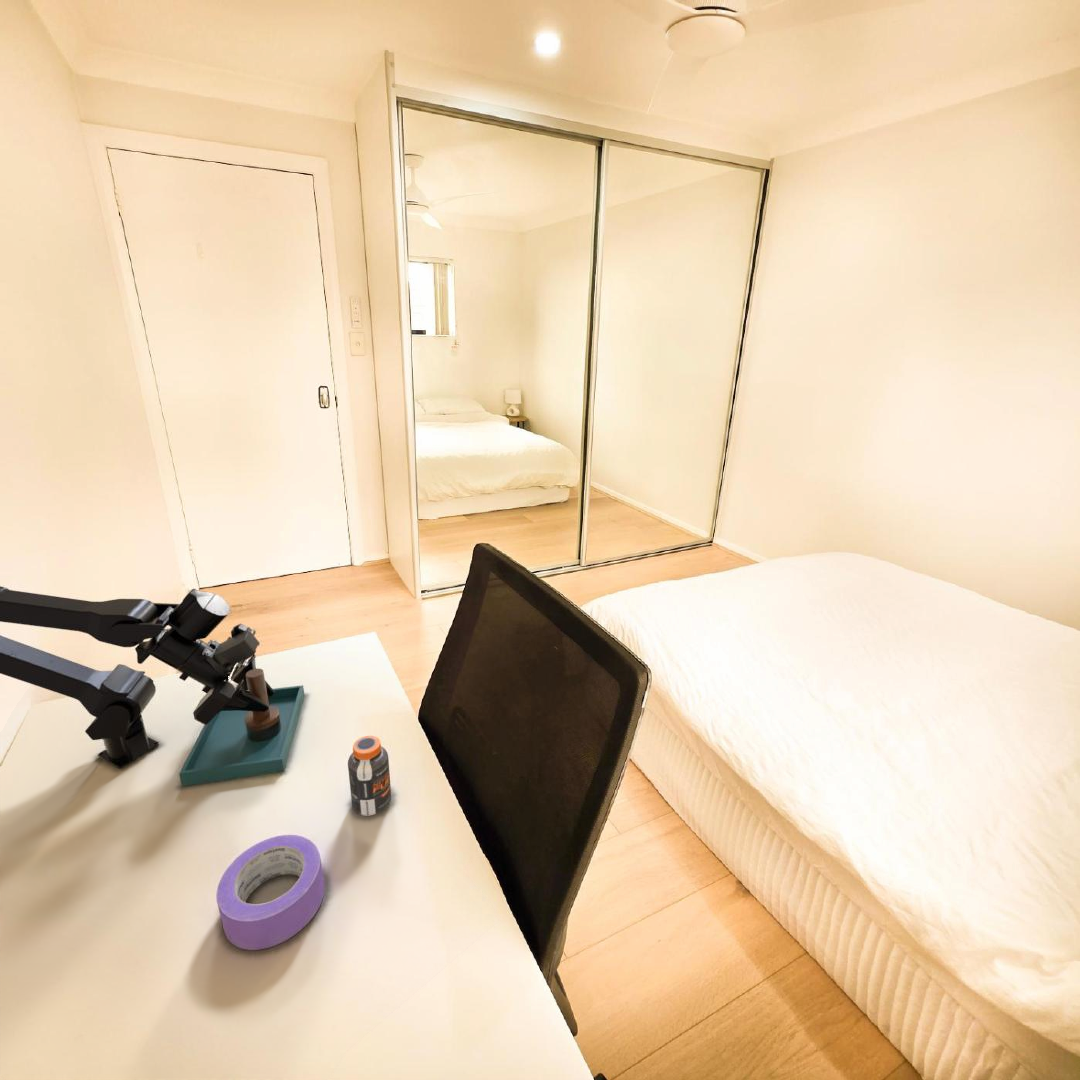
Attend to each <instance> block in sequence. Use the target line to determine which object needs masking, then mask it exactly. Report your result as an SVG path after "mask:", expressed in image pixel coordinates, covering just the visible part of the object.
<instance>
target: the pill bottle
mask: <svg viewBox="0 0 1080 1080" xmlns="http://www.w3.org/2000/svg"><path fill="white" fill-rule="evenodd" d="M347 769H348V770H347V771H348V781H349V790H350V798H351V806H352V809H353V811H354V812H355V813H356V814H358V815H360V816H367V817H368V816H374V815H377V814H379V813H382V812H383V811H384V810H385V809H387V808H388V806H389V805H390V803H391V801H392V790H391V789H392V788H391V787H392V786H391V774H390V761H389V753H388V751H387V749H386V748H385V747H384V746H382V744H381V739H380V738H379V737H377V736H376V735H364V736H362V737H359V738H358V739H357V740H356V741H355V742H354V743H353V745H352V752H351V754H350V755H349V757H348V760H347Z"/></svg>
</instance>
